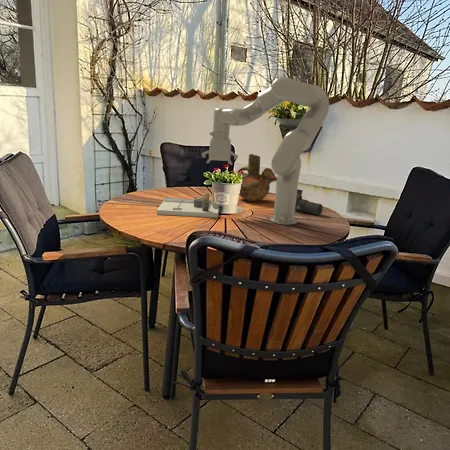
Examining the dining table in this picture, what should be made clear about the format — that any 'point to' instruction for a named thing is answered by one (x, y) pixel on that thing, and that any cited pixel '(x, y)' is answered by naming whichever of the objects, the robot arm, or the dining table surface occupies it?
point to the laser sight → (307, 205)
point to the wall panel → (185, 208)
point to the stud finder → (198, 201)
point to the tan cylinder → (205, 202)
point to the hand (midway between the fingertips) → (218, 172)
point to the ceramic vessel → (256, 180)
